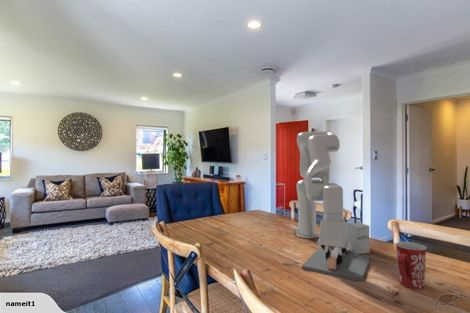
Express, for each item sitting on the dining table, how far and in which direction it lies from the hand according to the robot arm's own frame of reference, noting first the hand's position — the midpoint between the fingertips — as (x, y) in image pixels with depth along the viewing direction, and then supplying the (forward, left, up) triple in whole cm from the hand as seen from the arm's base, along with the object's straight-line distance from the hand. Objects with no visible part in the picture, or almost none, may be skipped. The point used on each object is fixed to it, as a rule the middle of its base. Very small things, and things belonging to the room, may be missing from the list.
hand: (334, 262), depth 107 cm
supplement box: (+5, +26, -3) cm, 27 cm away
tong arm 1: (-1, +5, -1) cm, 5 cm away
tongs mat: (0, +6, -3) cm, 7 cm away
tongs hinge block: (0, +17, -2) cm, 17 cm away
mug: (+25, -1, -3) cm, 25 cm away
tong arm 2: (+1, +5, -1) cm, 5 cm away
